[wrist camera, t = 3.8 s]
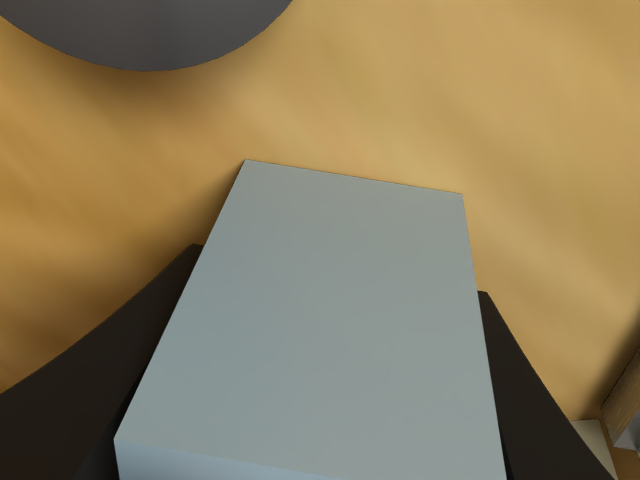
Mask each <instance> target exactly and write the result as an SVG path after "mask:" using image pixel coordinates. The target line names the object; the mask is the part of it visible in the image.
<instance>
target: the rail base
mask: <svg viewBox="0 0 640 480" xmlns="http://www.w3.org/2000/svg"><path fill="white" fill-rule="evenodd" d="M601 412H602V415H603V418H604V421H605V424H606V427H607V430H608V433H609V436H610V439H611V442H612V445H613V447H618V448H624V449H630V450H635V451H637V454H638V457H639V459H640V348H639V349H638V351H637V352H636V354H635V355H634V357H633V359H632V360H631V362H630V363H629V365H628V366H627V368H626V370H625V371H624V373H623V374H622V376H621V377H620V379H619V381H618V382H617V384H616V385H615V387H614V389H613V390H612V392H611V393H610V395H609V396H608V398H607V400H606V401H605V403H604V404H603V406H602V407H601Z"/></svg>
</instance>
